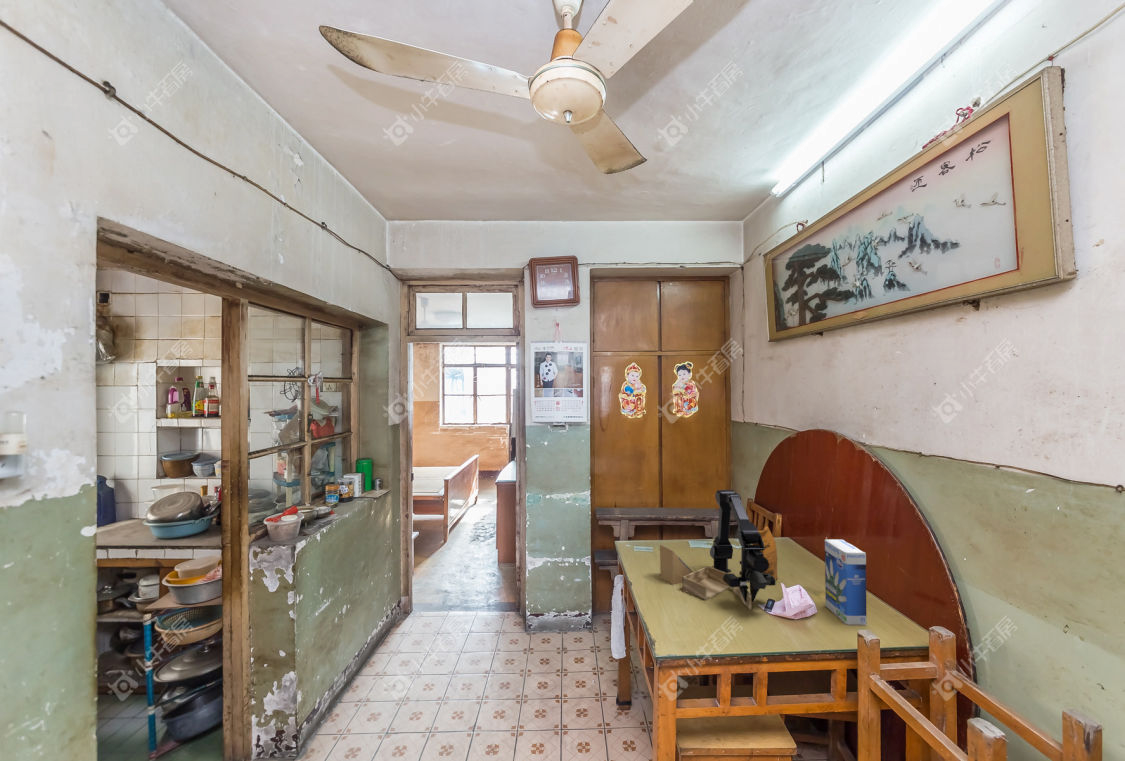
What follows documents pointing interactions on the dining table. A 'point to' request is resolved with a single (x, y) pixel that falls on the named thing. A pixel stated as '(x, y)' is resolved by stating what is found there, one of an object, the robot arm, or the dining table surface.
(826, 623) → the dining table surface
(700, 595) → the carton
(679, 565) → the sandwich container
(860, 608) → the string lights box
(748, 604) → the flap
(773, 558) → the coffee package
